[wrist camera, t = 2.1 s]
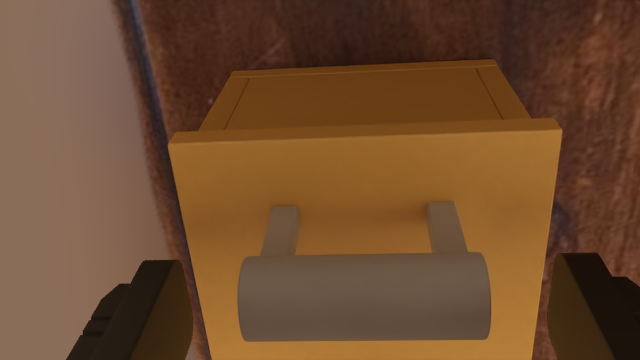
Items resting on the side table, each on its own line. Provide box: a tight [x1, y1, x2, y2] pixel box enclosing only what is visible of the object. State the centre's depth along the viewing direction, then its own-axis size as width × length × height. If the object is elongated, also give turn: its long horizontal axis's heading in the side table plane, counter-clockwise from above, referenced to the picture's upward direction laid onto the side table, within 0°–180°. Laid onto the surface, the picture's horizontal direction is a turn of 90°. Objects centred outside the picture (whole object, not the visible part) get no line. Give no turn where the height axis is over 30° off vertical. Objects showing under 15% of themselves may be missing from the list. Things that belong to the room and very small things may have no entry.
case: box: [198, 59, 531, 131], centre depth 22 cm, size 13×10×7 cm
